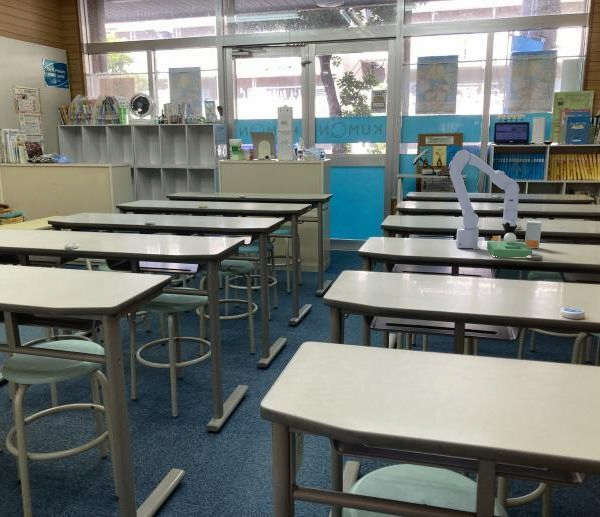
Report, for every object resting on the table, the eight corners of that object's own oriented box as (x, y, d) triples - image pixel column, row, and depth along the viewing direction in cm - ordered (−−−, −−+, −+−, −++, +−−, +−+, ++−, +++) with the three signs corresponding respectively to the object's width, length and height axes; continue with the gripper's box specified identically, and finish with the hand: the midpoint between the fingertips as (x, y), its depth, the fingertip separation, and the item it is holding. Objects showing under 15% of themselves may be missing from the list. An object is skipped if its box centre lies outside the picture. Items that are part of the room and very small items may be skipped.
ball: (503, 245, 234) (505, 234, 232) (502, 241, 239) (504, 230, 237) (516, 246, 233) (517, 235, 231) (514, 242, 238) (516, 231, 236)
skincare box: (524, 248, 245) (526, 221, 242) (525, 246, 248) (527, 220, 246) (538, 249, 242) (541, 222, 239) (539, 247, 246) (541, 221, 243)
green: (491, 257, 224) (493, 236, 222) (485, 248, 243) (486, 228, 242) (531, 259, 221) (533, 237, 219) (521, 249, 240) (523, 229, 239)
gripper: (523, 211, 229) (521, 243, 231) (516, 207, 242) (514, 237, 245) (506, 211, 230) (504, 242, 233) (500, 207, 244) (498, 237, 247)
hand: (508, 239), depth 239 cm, fingers closed
